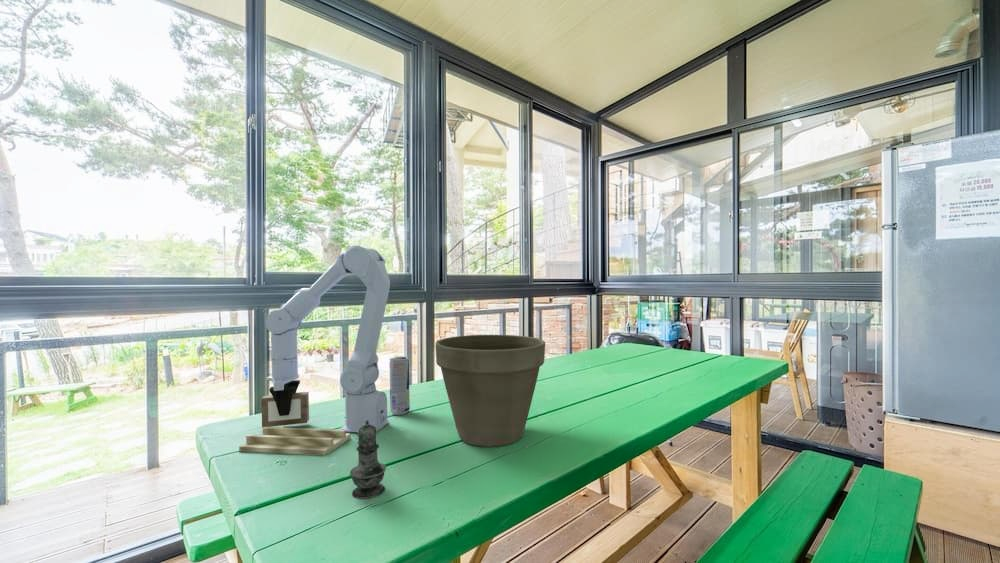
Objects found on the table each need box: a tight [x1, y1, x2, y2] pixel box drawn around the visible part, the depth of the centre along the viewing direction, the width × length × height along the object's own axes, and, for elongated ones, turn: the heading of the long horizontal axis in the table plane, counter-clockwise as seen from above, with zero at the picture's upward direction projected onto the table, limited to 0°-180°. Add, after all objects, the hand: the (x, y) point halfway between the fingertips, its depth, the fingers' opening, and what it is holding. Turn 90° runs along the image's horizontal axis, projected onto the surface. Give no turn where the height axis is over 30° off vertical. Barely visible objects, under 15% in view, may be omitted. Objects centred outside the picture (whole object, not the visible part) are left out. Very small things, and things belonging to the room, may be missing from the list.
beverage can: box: [389, 356, 411, 416], centre depth 115 cm, size 5×5×15 cm
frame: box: [261, 391, 310, 429], centre depth 105 cm, size 10×3×7 cm, turn 105°
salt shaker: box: [349, 420, 387, 500], centre depth 71 cm, size 6×6×12 cm
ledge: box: [238, 426, 351, 456], centre depth 93 cm, size 20×10×2 cm, turn 80°
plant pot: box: [435, 334, 546, 448], centre depth 96 cm, size 25×25×22 cm
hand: (285, 413), depth 105 cm, fingers closed on frame, 3 cm apart
